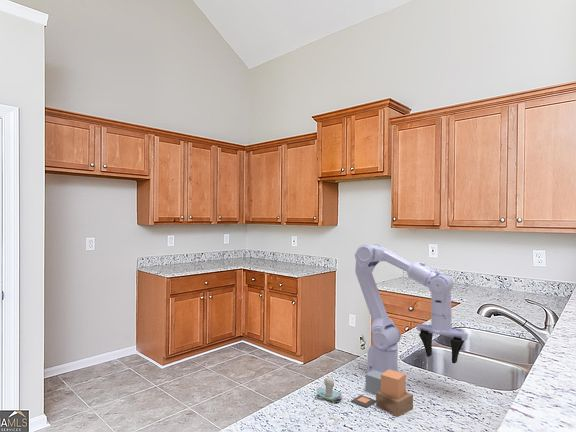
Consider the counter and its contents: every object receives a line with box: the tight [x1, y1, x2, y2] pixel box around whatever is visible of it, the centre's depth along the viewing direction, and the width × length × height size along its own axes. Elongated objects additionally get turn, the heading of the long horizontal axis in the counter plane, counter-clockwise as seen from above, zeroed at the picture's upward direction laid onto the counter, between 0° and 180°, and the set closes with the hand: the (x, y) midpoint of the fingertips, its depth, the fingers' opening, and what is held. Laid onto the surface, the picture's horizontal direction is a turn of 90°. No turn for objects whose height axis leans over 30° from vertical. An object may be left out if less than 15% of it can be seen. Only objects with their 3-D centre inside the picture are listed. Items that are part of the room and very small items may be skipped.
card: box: [350, 394, 376, 409], centre depth 101 cm, size 5×5×1 cm
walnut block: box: [375, 391, 414, 418], centre depth 99 cm, size 7×7×4 cm
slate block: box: [364, 370, 383, 396], centre depth 109 cm, size 5×5×5 cm
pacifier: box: [316, 377, 343, 402], centre depth 104 cm, size 7×6×6 cm
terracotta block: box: [381, 370, 407, 399], centre depth 99 cm, size 5×5×5 cm
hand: (441, 359), depth 110 cm, fingers open, 7 cm apart
